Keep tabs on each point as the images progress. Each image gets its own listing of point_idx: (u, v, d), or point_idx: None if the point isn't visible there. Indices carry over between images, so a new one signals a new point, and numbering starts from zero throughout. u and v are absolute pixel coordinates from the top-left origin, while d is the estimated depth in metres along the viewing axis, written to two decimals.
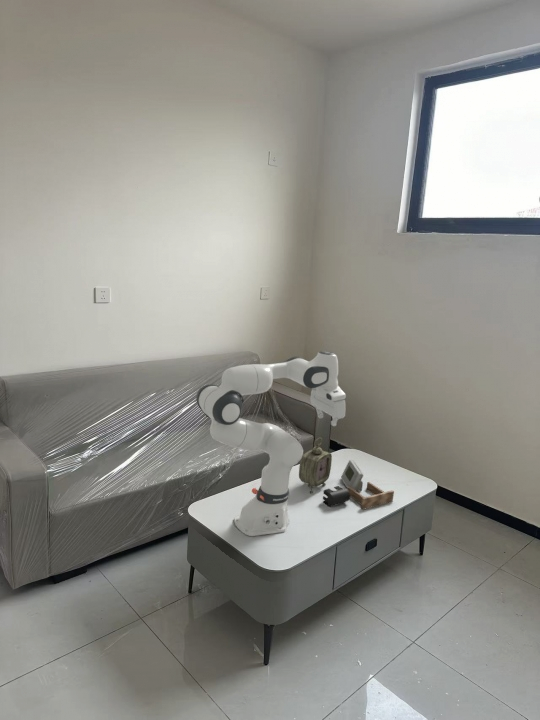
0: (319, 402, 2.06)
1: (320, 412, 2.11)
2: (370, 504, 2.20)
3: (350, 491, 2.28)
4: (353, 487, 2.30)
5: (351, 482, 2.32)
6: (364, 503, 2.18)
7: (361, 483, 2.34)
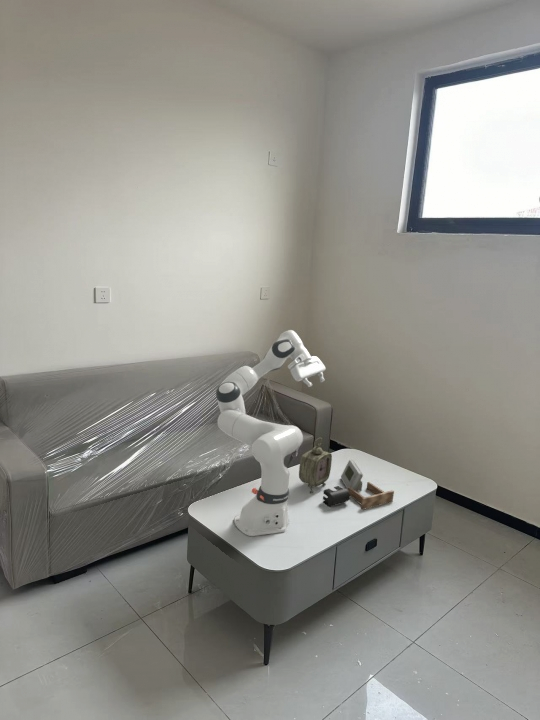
0: None
1: (321, 377, 2.45)
2: (370, 504, 2.20)
3: (350, 491, 2.28)
4: (353, 487, 2.30)
5: (351, 482, 2.32)
6: (364, 503, 2.18)
7: (361, 483, 2.34)
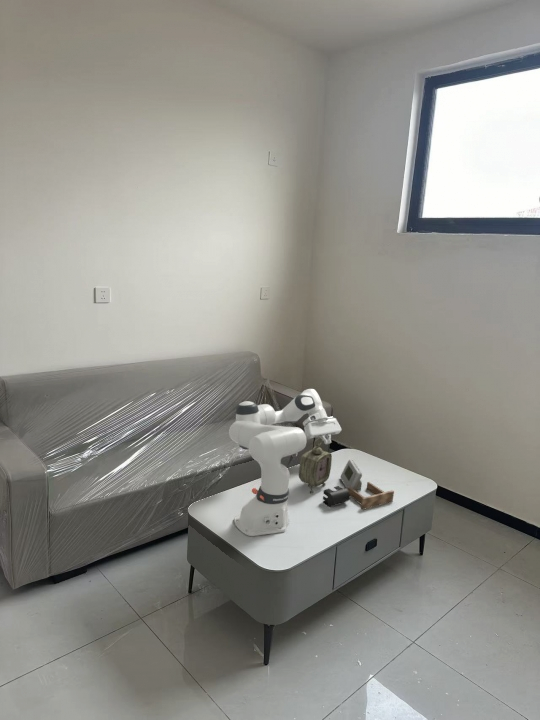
0: None
1: (328, 439, 2.53)
2: (370, 504, 2.20)
3: (350, 491, 2.28)
4: (352, 487, 2.30)
5: (350, 482, 2.33)
6: (364, 503, 2.18)
7: (360, 483, 2.34)
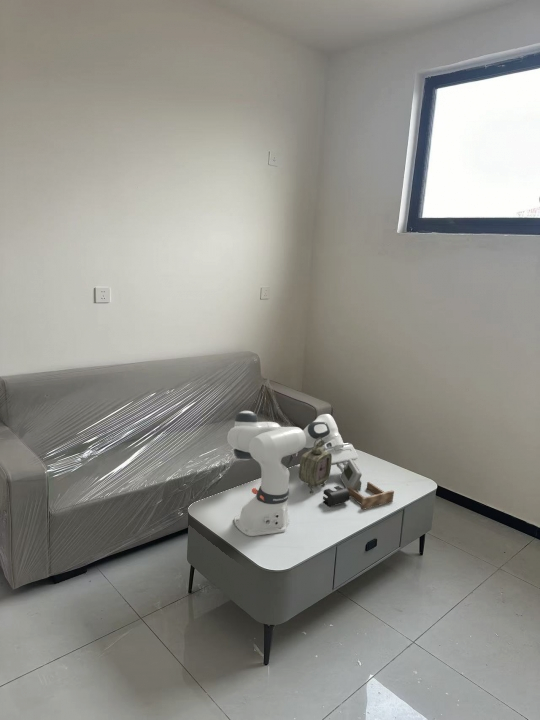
0: None
1: (345, 466, 2.44)
2: (370, 504, 2.20)
3: (350, 491, 2.28)
4: (351, 486, 2.30)
5: (350, 481, 2.33)
6: (364, 503, 2.18)
7: (360, 483, 2.34)
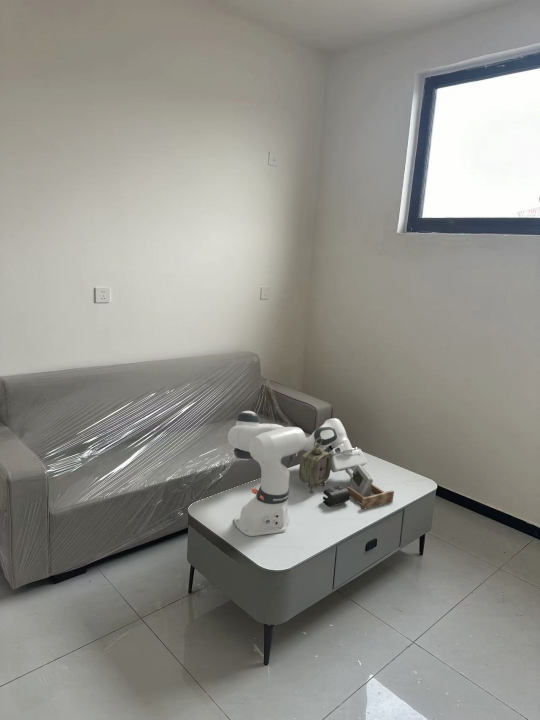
0: None
1: None
2: (370, 504, 2.20)
3: (350, 491, 2.28)
4: (363, 493, 2.25)
5: (360, 488, 2.28)
6: (364, 503, 2.18)
7: (370, 488, 2.29)
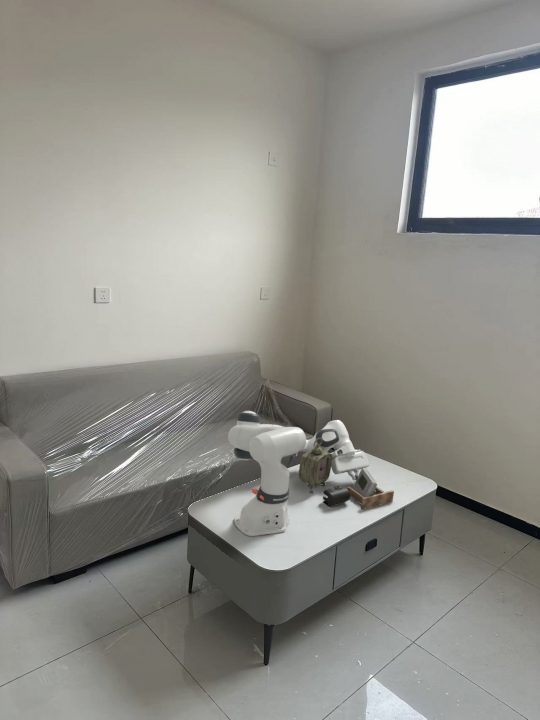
0: None
1: (356, 474, 2.36)
2: (370, 504, 2.20)
3: (350, 491, 2.28)
4: None
5: (364, 491, 2.24)
6: (364, 503, 2.18)
7: (374, 492, 2.26)
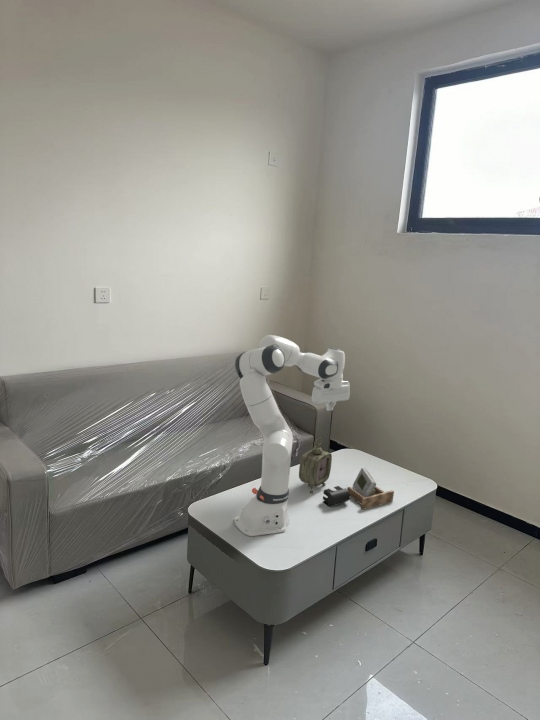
0: None
1: (332, 405, 2.36)
2: (370, 504, 2.20)
3: (350, 491, 2.28)
4: (366, 496, 2.22)
5: (363, 491, 2.25)
6: (364, 503, 2.18)
7: (374, 492, 2.26)
